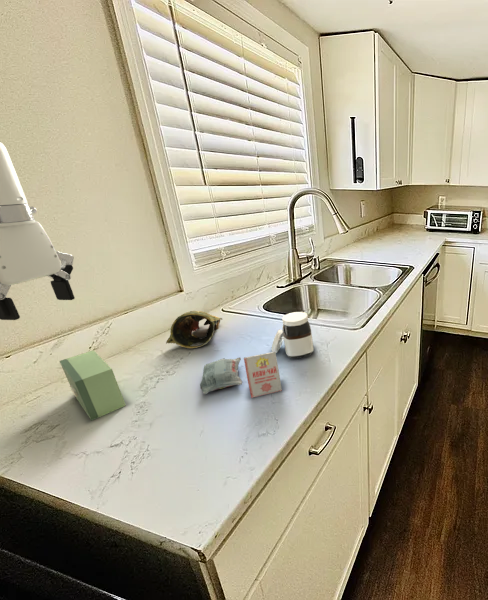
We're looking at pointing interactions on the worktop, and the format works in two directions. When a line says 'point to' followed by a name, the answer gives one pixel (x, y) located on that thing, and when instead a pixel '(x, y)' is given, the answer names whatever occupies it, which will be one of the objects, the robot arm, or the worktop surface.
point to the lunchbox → (93, 384)
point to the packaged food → (220, 375)
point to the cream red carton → (262, 374)
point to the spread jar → (294, 336)
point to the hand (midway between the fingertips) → (40, 308)
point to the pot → (192, 329)
